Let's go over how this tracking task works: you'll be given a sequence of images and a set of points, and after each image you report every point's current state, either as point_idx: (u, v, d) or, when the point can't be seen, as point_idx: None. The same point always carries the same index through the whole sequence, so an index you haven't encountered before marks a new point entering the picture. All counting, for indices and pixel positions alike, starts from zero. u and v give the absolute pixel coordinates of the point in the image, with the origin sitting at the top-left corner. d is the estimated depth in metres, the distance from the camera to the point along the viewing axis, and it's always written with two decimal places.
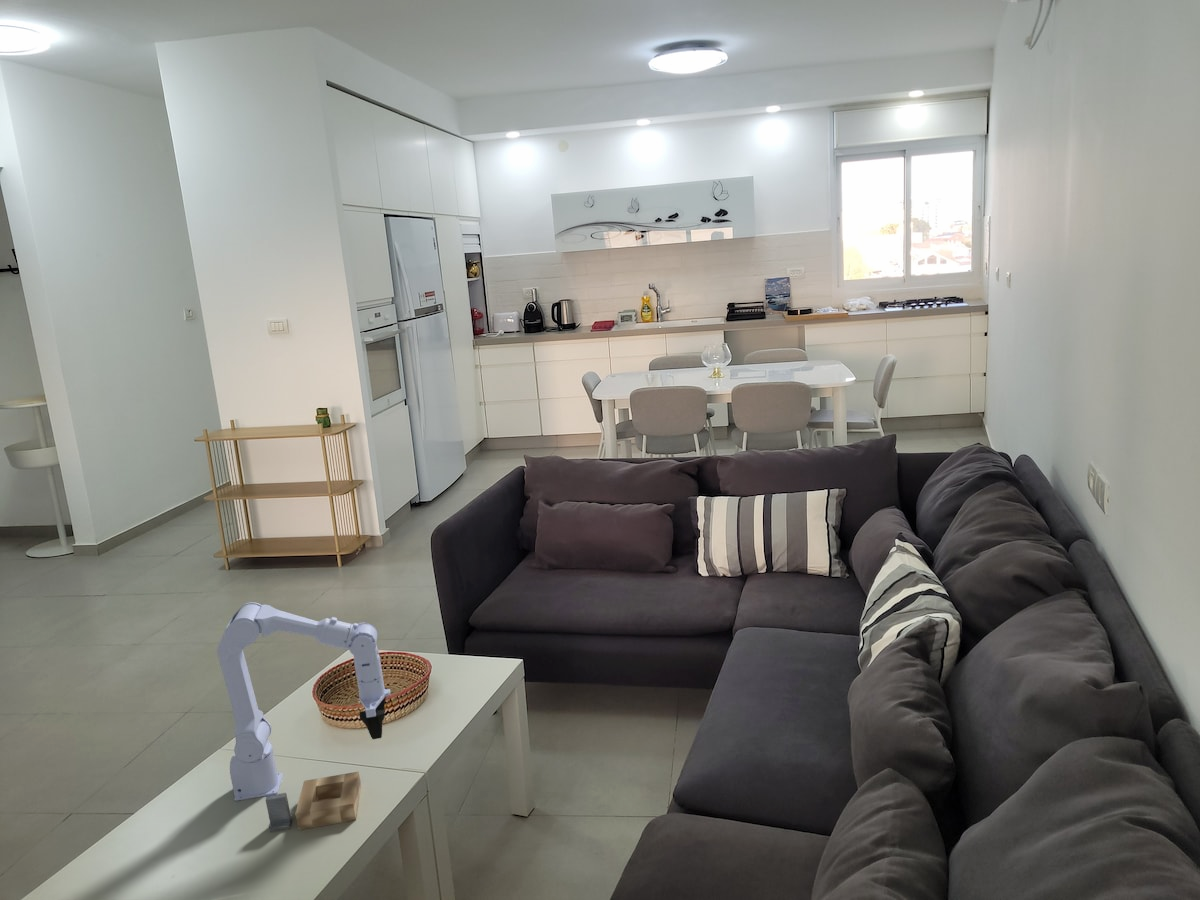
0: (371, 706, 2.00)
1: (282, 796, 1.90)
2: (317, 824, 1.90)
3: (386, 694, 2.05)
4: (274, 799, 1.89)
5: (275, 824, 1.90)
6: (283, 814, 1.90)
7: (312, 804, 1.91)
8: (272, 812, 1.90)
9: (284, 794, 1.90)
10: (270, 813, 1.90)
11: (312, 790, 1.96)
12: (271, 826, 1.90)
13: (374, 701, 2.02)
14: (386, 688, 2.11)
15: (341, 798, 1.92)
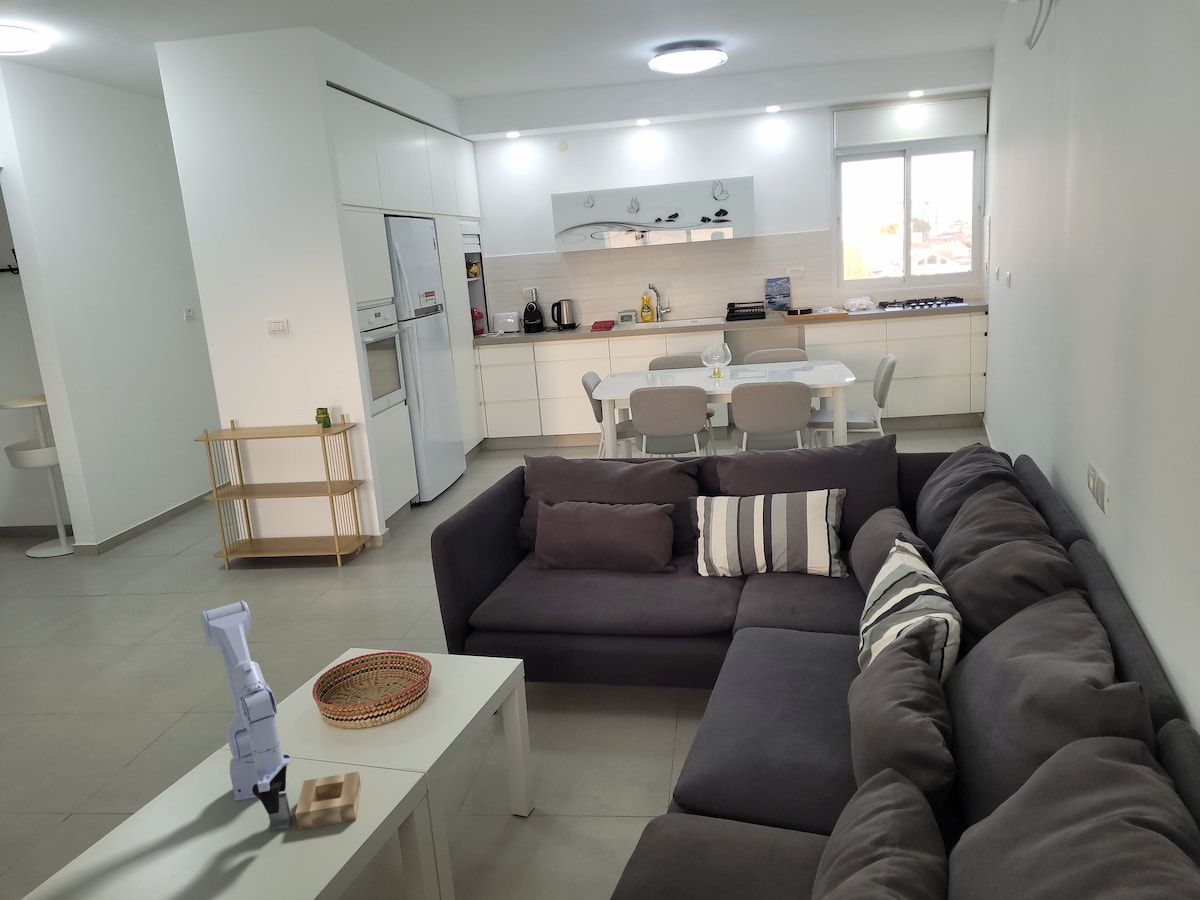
0: (265, 779, 1.83)
1: (282, 796, 1.90)
2: (317, 824, 1.90)
3: (284, 764, 1.88)
4: None
5: (275, 824, 1.90)
6: (283, 814, 1.90)
7: (312, 804, 1.91)
8: None
9: (284, 794, 1.90)
10: None
11: (312, 790, 1.96)
12: (271, 826, 1.90)
13: (269, 773, 1.85)
14: (288, 755, 1.94)
15: (341, 798, 1.92)
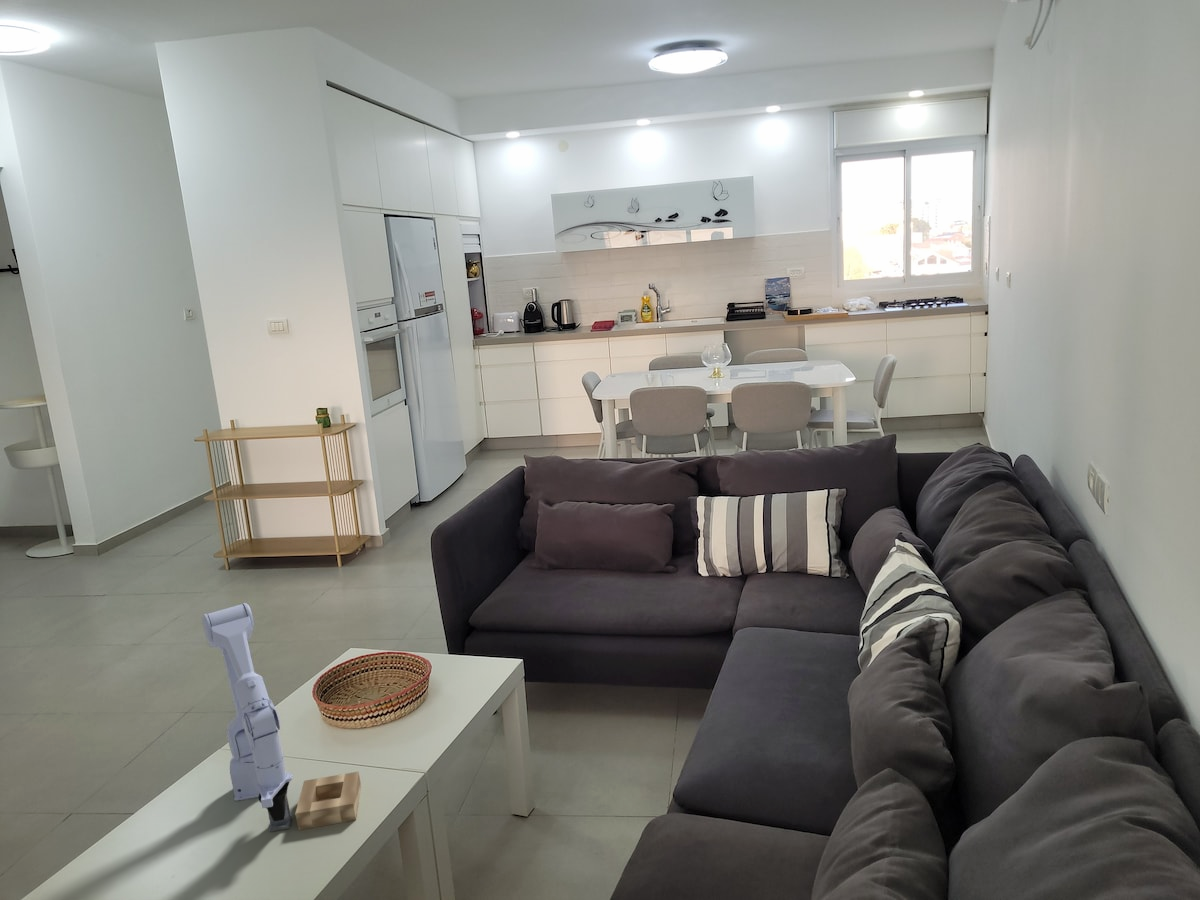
0: (268, 795, 1.84)
1: None
2: (317, 824, 1.90)
3: (287, 780, 1.89)
4: None
5: (275, 824, 1.90)
6: None
7: (312, 804, 1.91)
8: None
9: None
10: None
11: (312, 790, 1.96)
12: (271, 826, 1.90)
13: (273, 788, 1.86)
14: None
15: (341, 798, 1.92)
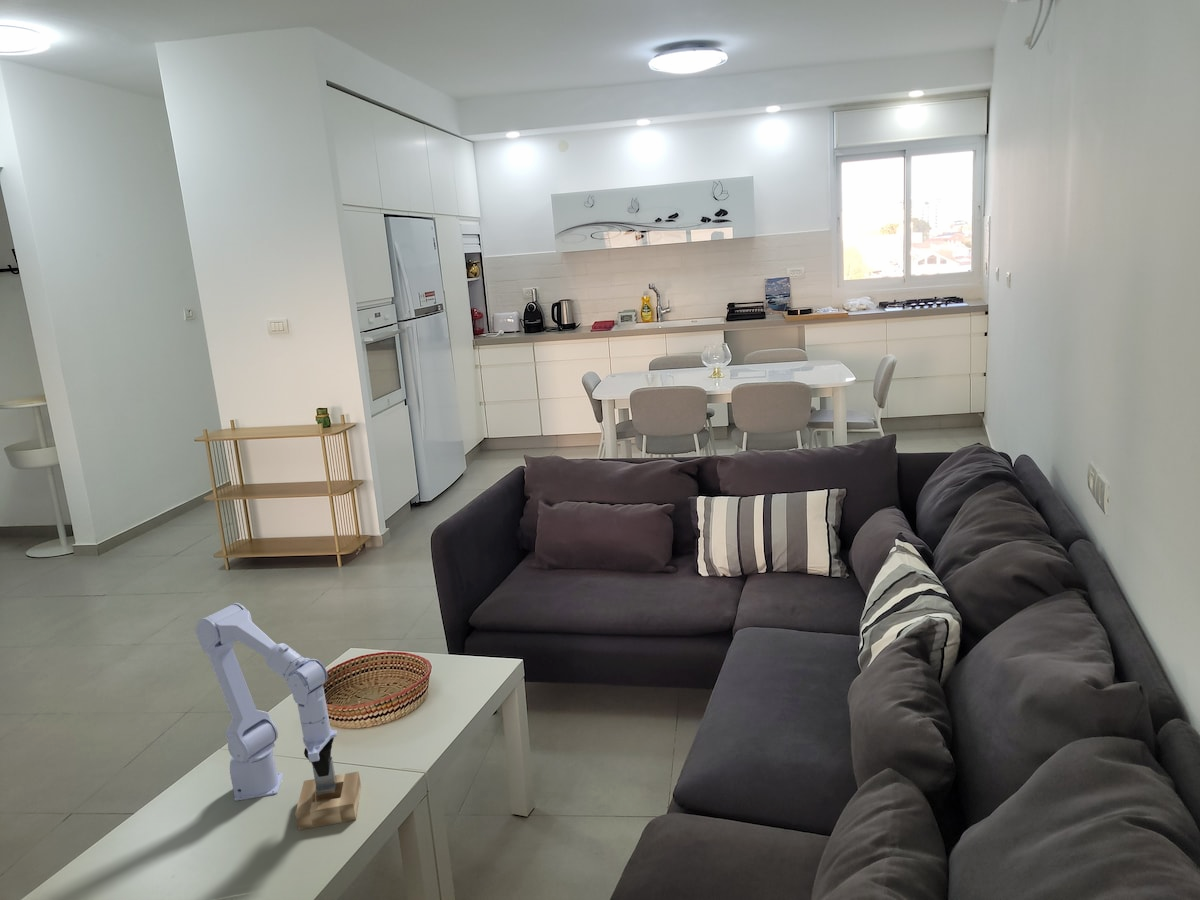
0: (314, 750, 1.86)
1: None
2: (317, 824, 1.90)
3: (332, 736, 1.91)
4: None
5: (321, 787, 1.93)
6: (329, 778, 1.94)
7: (312, 804, 1.91)
8: None
9: (330, 758, 1.94)
10: (316, 776, 1.93)
11: (312, 790, 1.96)
12: (317, 789, 1.93)
13: (318, 744, 1.89)
14: None
15: (341, 798, 1.92)
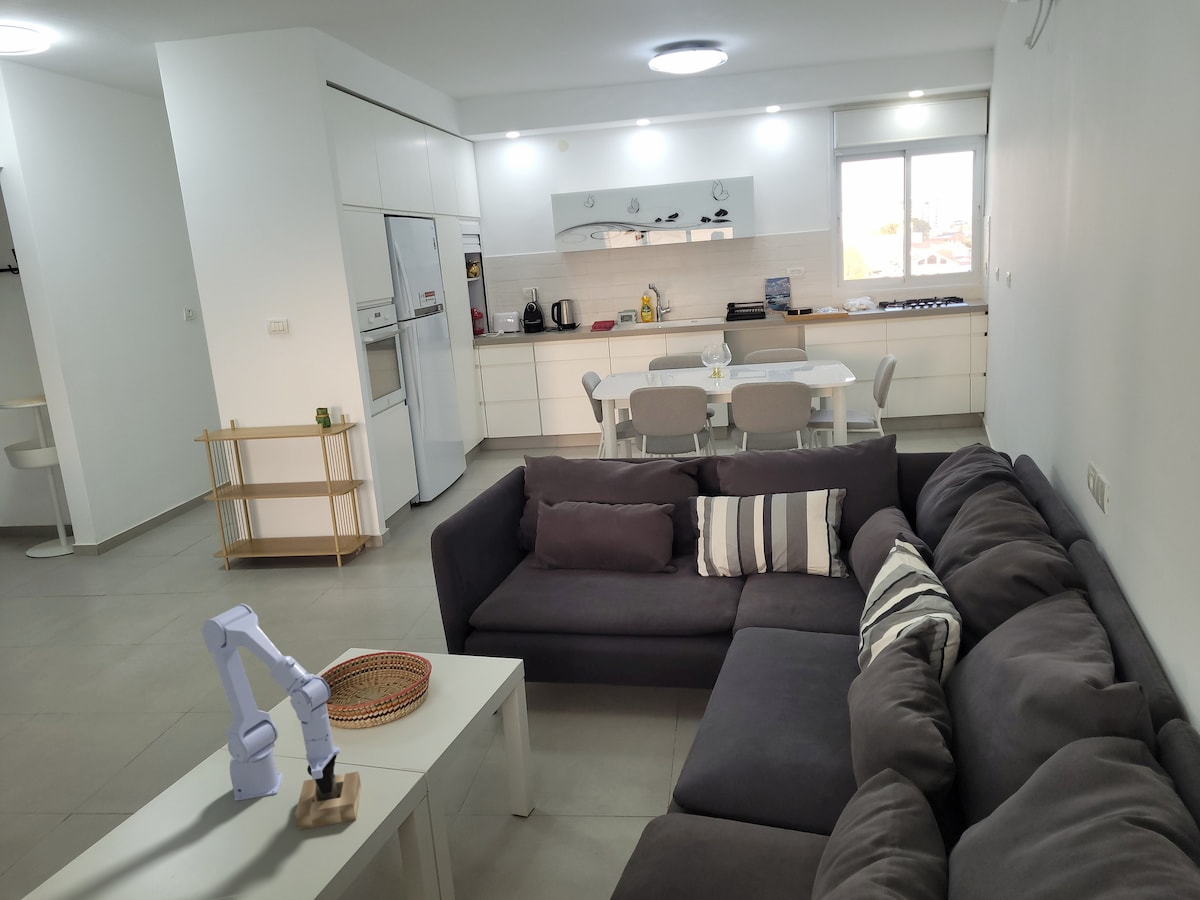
0: (318, 767, 1.87)
1: None
2: (317, 824, 1.90)
3: (335, 752, 1.92)
4: None
5: None
6: (332, 795, 1.95)
7: (312, 804, 1.91)
8: (321, 793, 1.94)
9: (333, 776, 1.95)
10: (319, 794, 1.94)
11: (312, 790, 1.96)
12: None
13: (322, 761, 1.90)
14: None
15: (341, 798, 1.92)
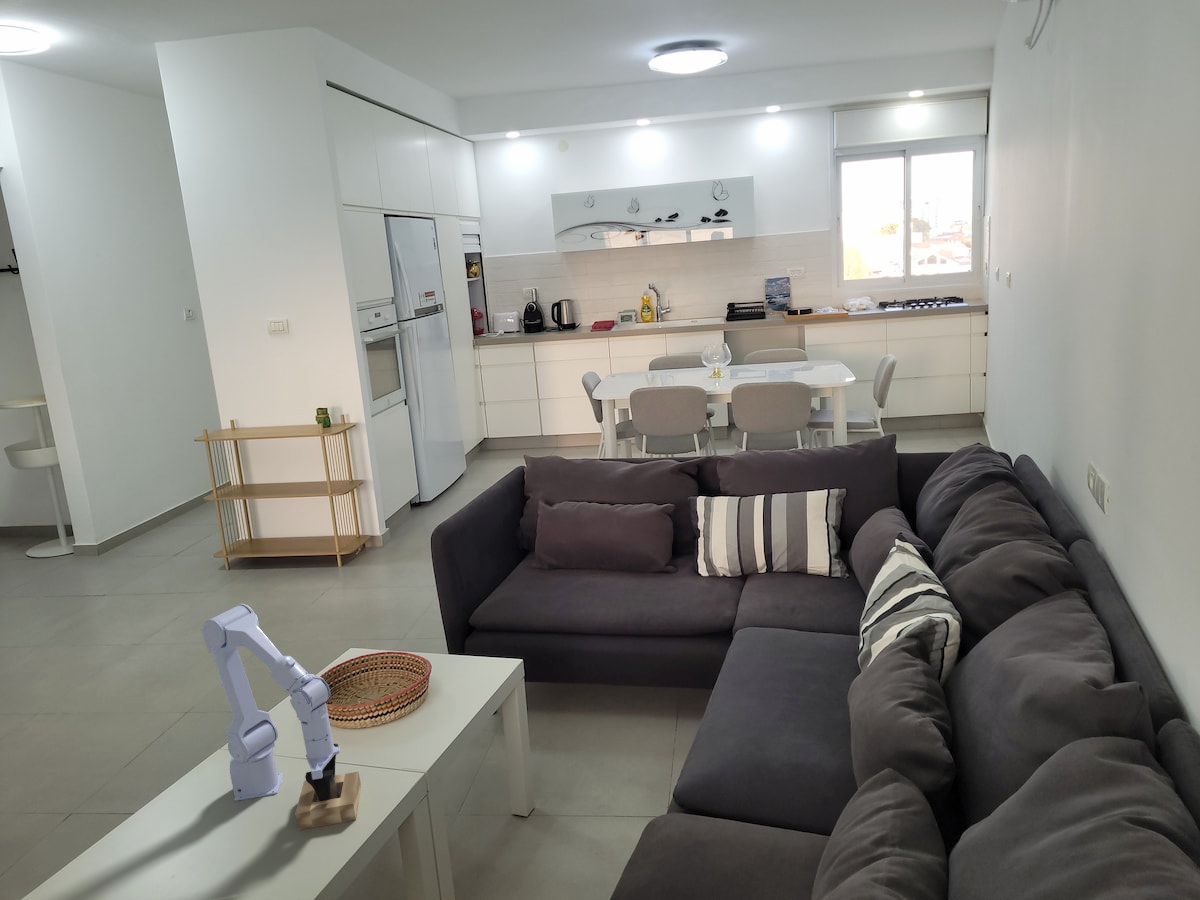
0: (318, 767, 1.87)
1: (331, 778, 1.94)
2: (317, 824, 1.90)
3: (335, 752, 1.92)
4: None
5: None
6: (332, 795, 1.95)
7: (312, 804, 1.91)
8: None
9: (333, 776, 1.95)
10: None
11: (312, 790, 1.96)
12: None
13: (322, 761, 1.90)
14: (337, 744, 1.99)
15: (341, 798, 1.92)
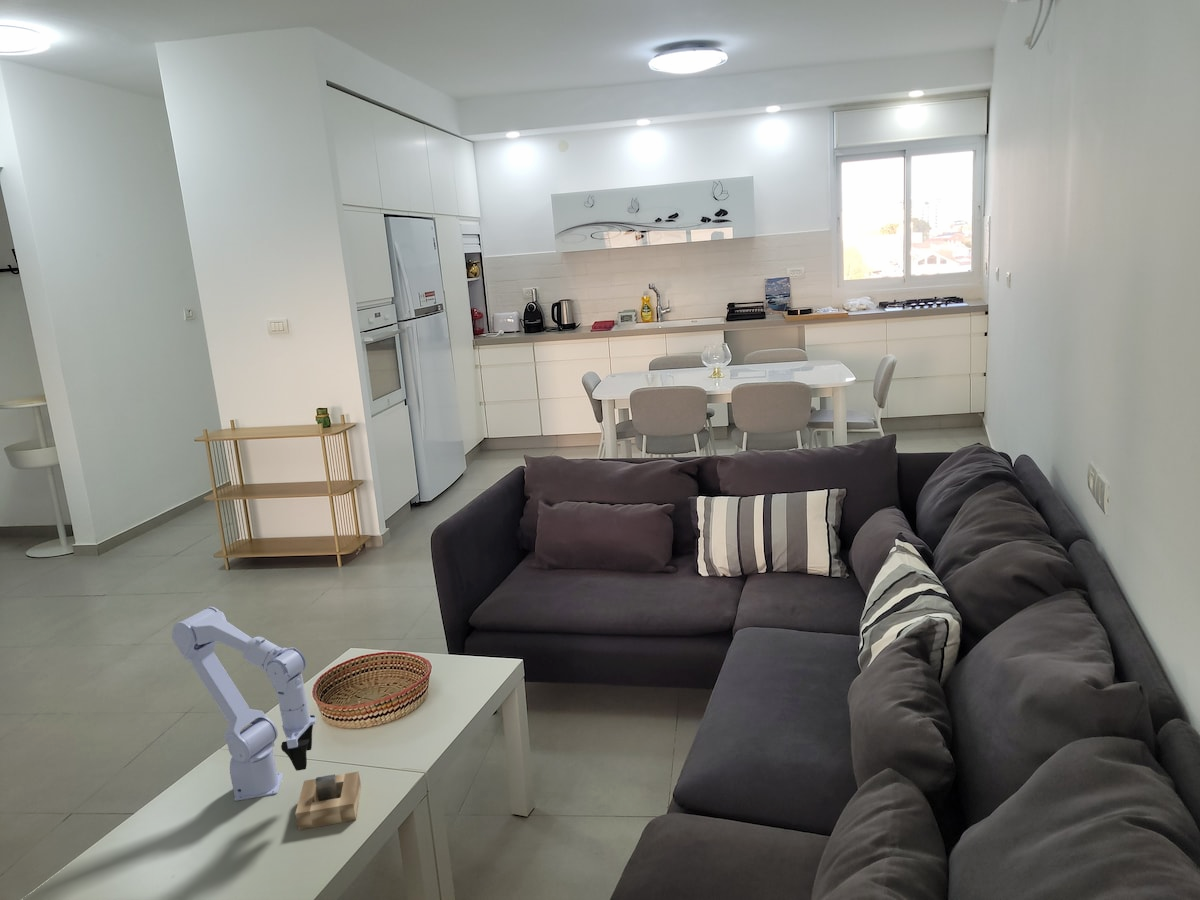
0: (293, 736, 1.90)
1: (331, 778, 1.94)
2: (317, 824, 1.90)
3: (311, 723, 1.95)
4: (324, 781, 1.93)
5: None
6: (332, 795, 1.95)
7: (312, 804, 1.91)
8: (321, 793, 1.94)
9: (333, 776, 1.95)
10: (319, 794, 1.94)
11: (312, 790, 1.96)
12: None
13: (297, 731, 1.93)
14: (313, 716, 2.02)
15: (341, 798, 1.92)
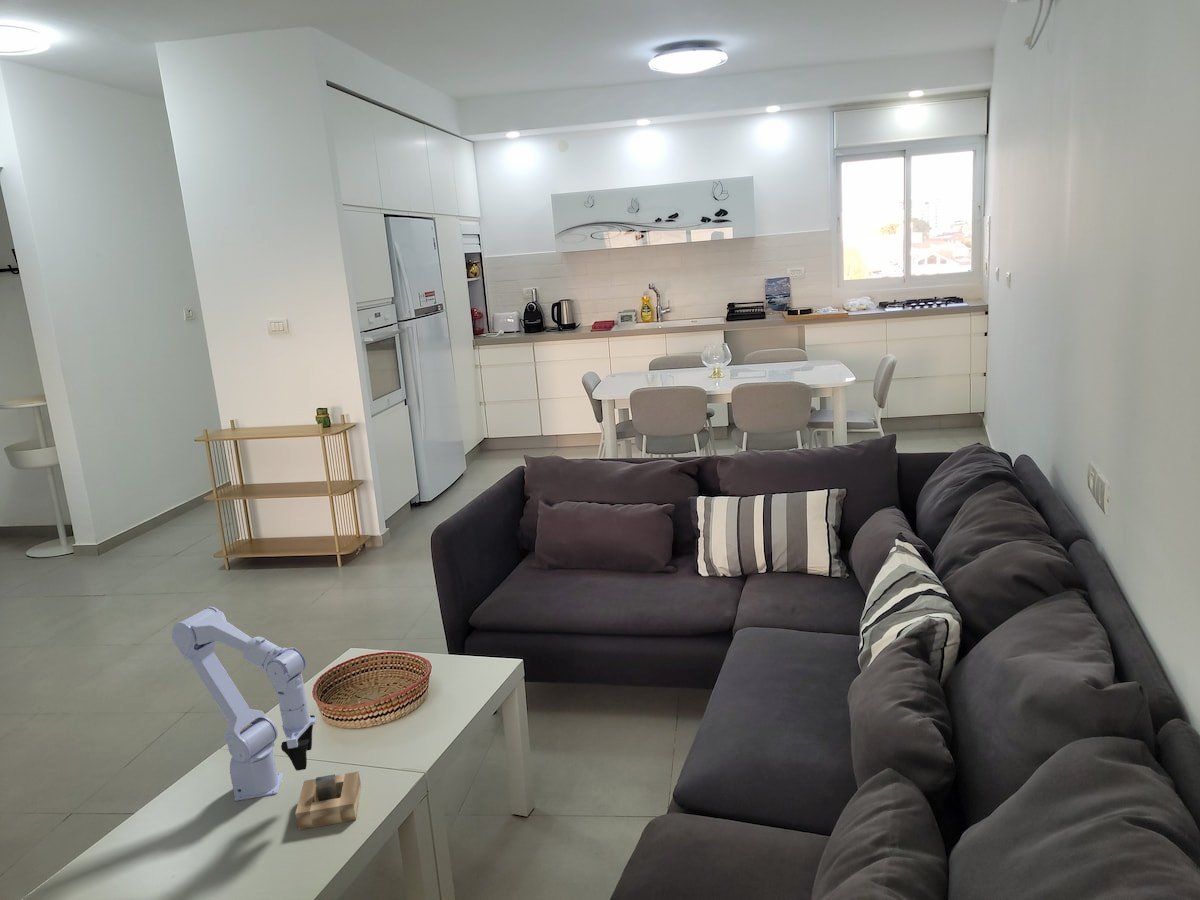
0: (293, 736, 1.90)
1: (331, 778, 1.94)
2: (317, 824, 1.90)
3: (311, 723, 1.95)
4: (324, 781, 1.93)
5: None
6: (332, 795, 1.95)
7: (312, 804, 1.91)
8: (321, 793, 1.94)
9: (333, 776, 1.95)
10: (319, 794, 1.94)
11: (312, 790, 1.96)
12: None
13: (297, 731, 1.93)
14: (313, 716, 2.02)
15: (341, 798, 1.92)
